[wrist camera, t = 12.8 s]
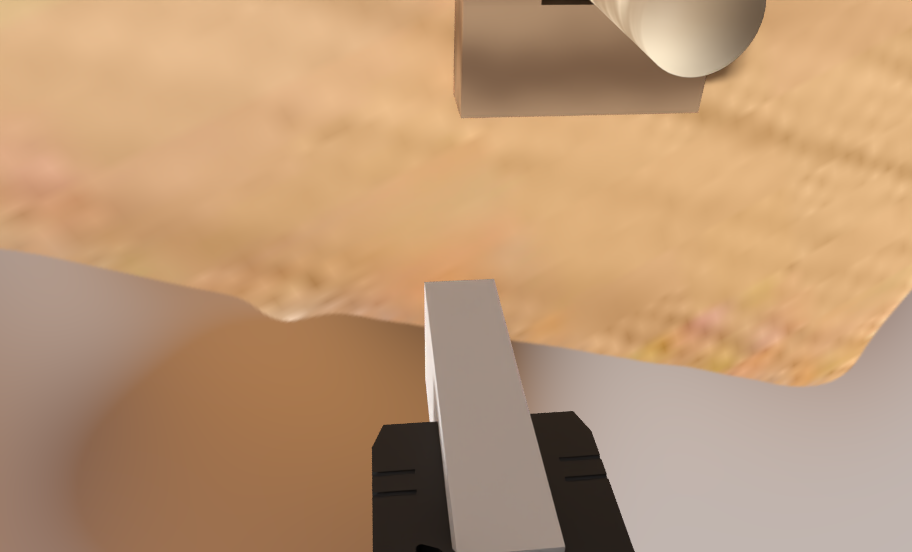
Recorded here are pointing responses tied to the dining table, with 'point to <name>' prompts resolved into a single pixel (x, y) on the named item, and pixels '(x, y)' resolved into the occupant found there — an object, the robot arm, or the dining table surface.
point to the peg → (688, 30)
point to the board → (557, 64)
